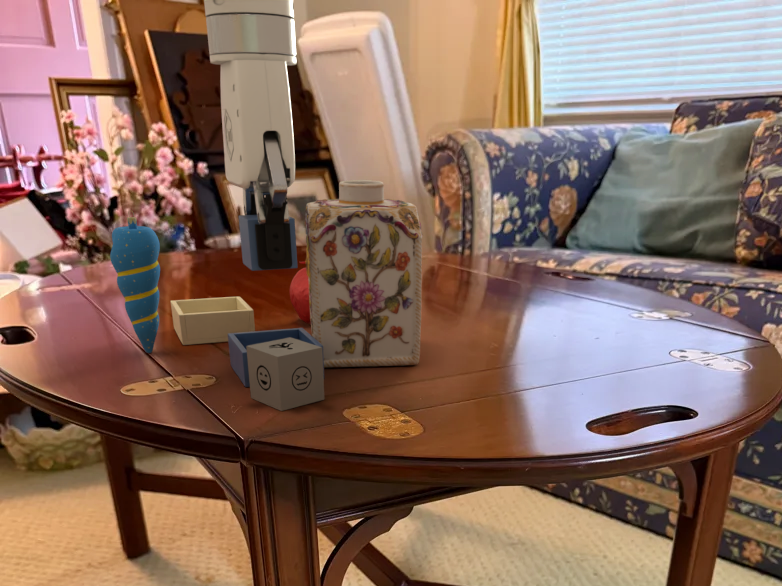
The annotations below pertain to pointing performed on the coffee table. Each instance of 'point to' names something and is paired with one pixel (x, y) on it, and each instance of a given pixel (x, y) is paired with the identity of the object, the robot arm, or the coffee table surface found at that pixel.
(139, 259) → the ornament
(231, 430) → the coffee table surface
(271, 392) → the dice cube
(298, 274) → the pomegranate
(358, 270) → the decorative jar
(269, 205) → the robot arm
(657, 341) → the coffee table surface
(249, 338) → the blue bin
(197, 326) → the cream bin
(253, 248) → the blue block
